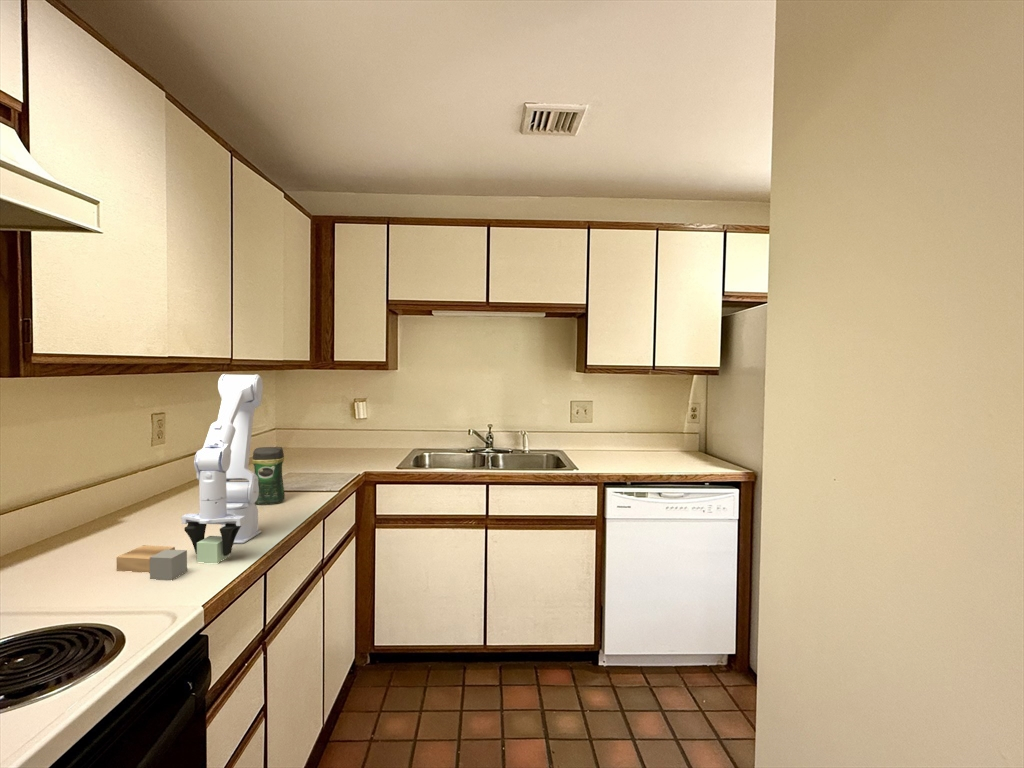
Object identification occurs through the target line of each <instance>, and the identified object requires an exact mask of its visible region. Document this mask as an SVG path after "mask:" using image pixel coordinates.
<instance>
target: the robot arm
mask: <svg viewBox="0 0 1024 768" xmlns="http://www.w3.org/2000/svg"><path fill="white" fill-rule="evenodd" d="M217 390H218V394H219V396H220V399H221V402H220V408H219V410H218V411H219V412H218V415H217V419H216V421H214V422H212V423H211V424H210V426H209V429H208V432H207V436H206V438H205V441H204V443H203V447H202V448H201V449H199V450H197V451H196V453H195V455H194V461H193V464H194V465H193V466H194V470H195V472H196V480H198V481H199V482H198V484H199V485H198V488H199V491H198V492H199V493H198V496H199V498H198V499H199V513H185V514H184V515H181V524H182V525H187V526H185V527H184V532H185V533H186V534H187V536H188V537H189V539H190V541H191V544H192V546H193V549H194V553H195V555H196V556H197V542H199V541H201V540H203V539H205V538H206V537H205V534H206V529H207V525H221V527H220V528H219V532H220V536H222V541H223V555H224V556H227V555H229V554H230V555H231V554H232V549H233V546H234V544H244V543H246V542H248V541H249V540H251V539H253V538H254V537H256V536H258V535H260V534H261V533H262V530H259V508H258V506H257V504H255V502H256V501H257V498H258V494H259V486H258V477H257V475H256V474H255V472H253V471H252V470H251V469H250V468H249V464H250V463H249V462H250V454H251V453H250V452H251V445H252V434H253V433H252V432H253V423H254V416H255V411H256V409H257V408H259V407H261V405H262V399H263V391H264V384H263V378H262V377H261V375H259V374H227V373H223V374H221V375H220V377H219V378H218V381H217Z"/></svg>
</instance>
